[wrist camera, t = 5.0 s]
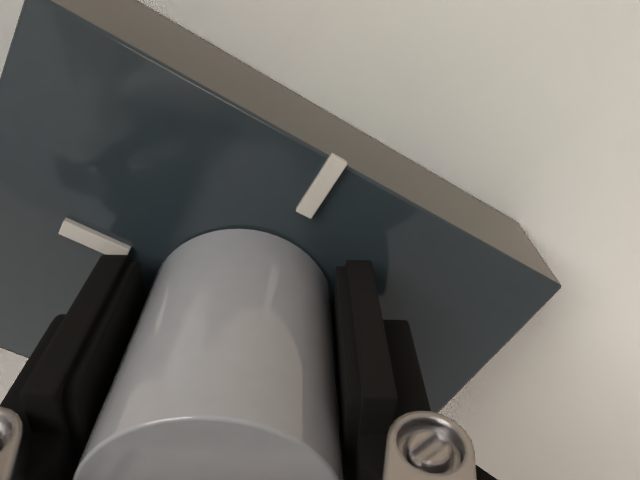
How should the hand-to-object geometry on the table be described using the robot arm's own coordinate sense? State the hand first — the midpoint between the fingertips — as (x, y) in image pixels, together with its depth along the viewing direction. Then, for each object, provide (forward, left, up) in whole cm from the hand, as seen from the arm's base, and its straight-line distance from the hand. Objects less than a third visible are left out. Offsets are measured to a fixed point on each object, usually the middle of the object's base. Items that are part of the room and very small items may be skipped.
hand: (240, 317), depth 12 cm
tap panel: (0, 0, -4) cm, 4 cm away
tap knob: (0, 0, 0) cm, 0 cm away
